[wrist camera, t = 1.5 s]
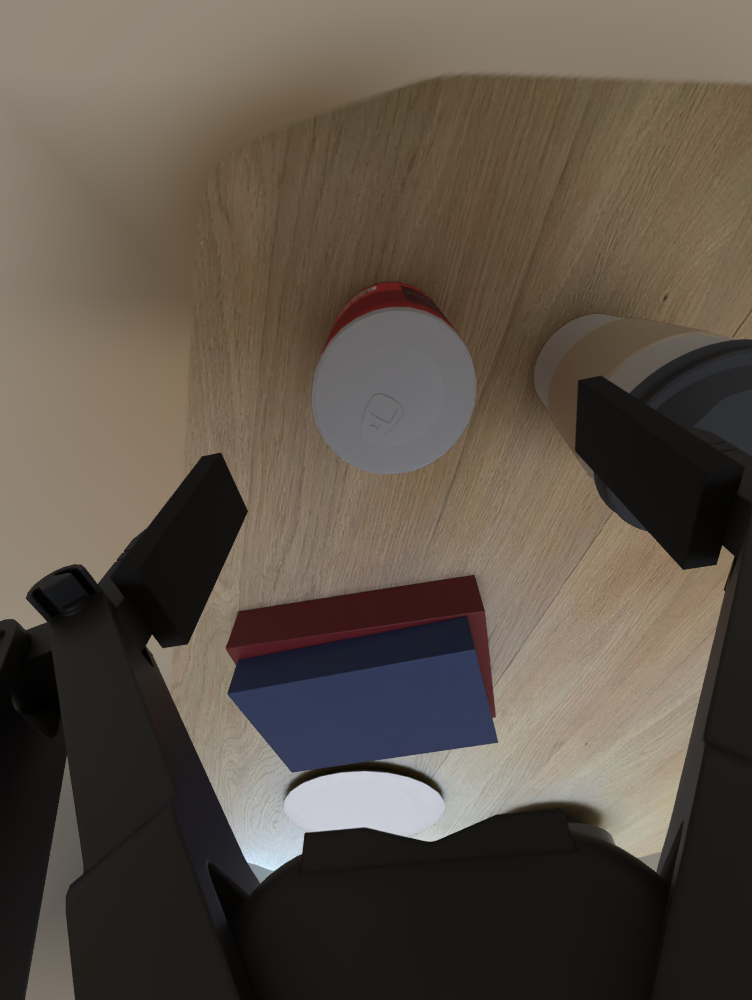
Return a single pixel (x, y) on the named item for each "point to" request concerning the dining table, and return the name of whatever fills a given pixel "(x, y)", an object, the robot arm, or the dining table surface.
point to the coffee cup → (649, 378)
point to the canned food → (392, 381)
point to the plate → (364, 802)
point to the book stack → (367, 674)
